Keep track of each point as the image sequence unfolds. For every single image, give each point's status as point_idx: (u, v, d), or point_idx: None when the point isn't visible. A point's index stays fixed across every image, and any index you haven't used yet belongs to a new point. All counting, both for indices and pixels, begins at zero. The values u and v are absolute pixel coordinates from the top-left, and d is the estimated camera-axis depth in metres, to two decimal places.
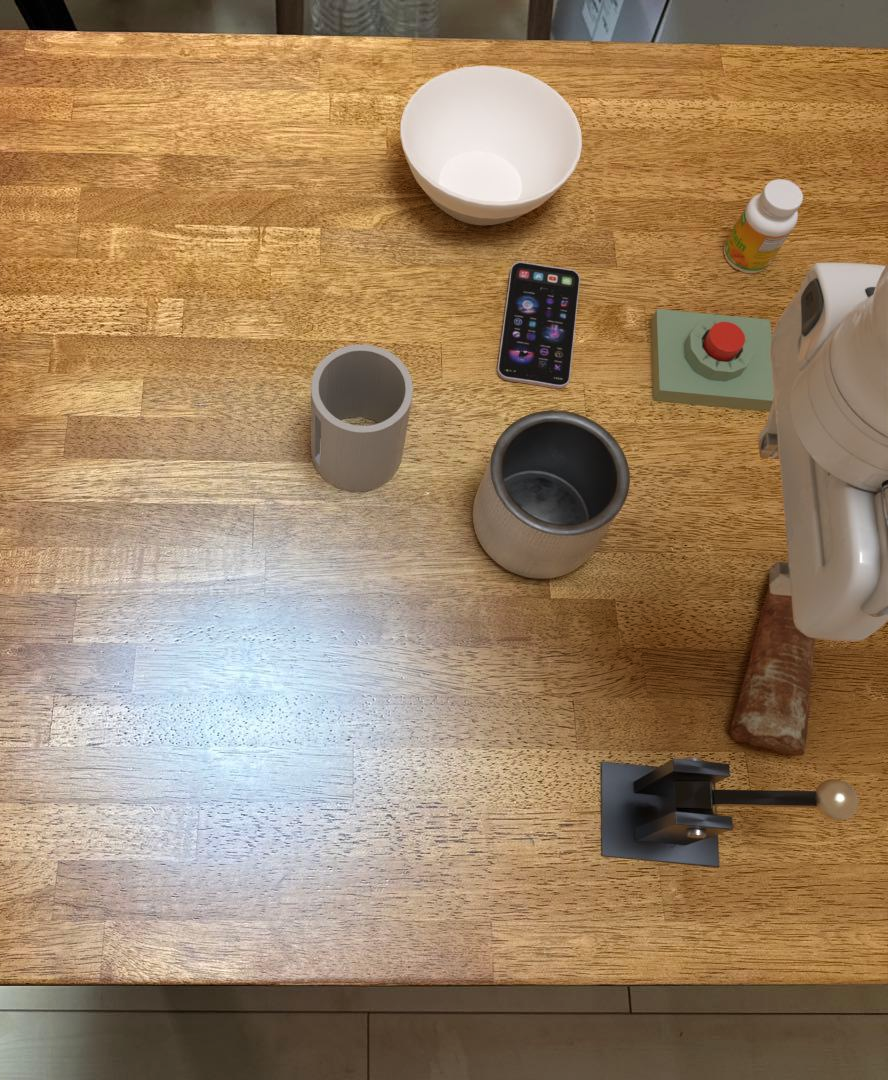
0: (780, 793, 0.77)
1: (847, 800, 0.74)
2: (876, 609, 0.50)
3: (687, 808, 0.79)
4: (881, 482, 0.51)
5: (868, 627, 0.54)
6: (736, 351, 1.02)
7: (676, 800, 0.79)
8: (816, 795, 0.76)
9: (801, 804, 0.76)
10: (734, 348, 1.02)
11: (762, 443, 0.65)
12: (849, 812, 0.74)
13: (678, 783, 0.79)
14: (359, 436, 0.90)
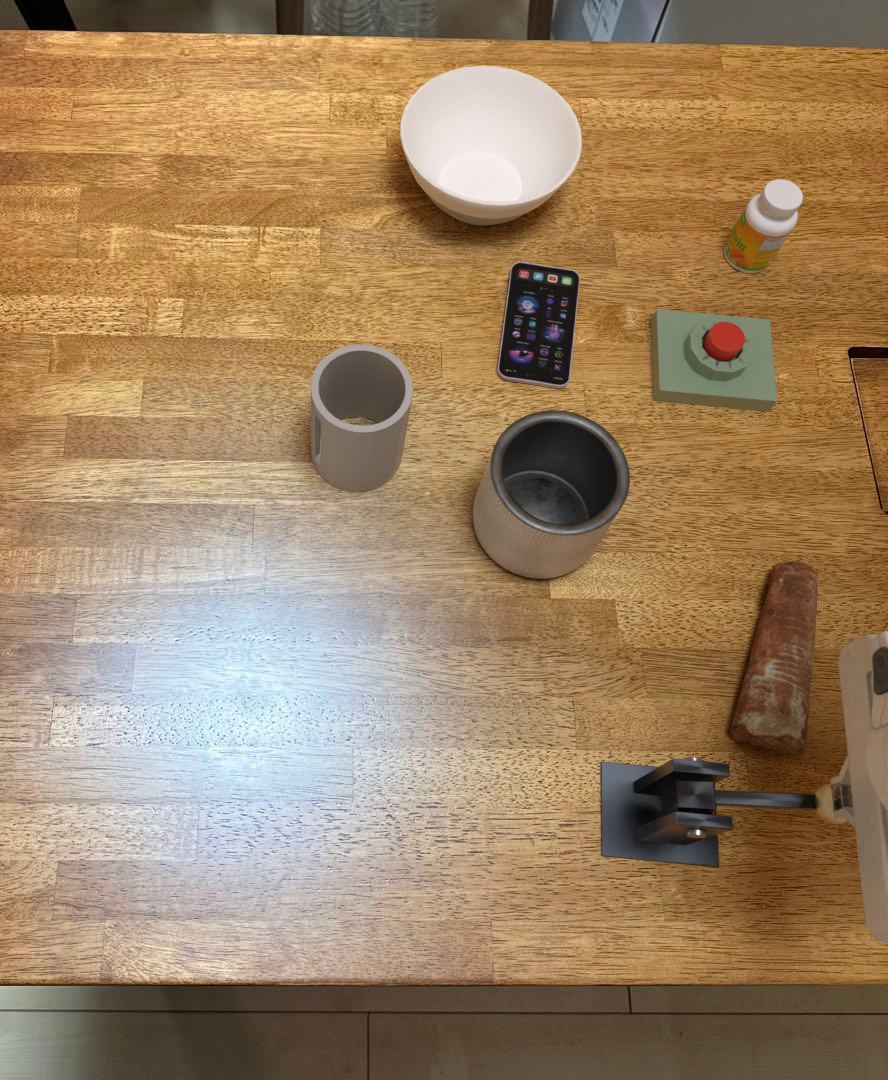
0: (781, 795, 0.78)
1: None
2: None
3: (689, 808, 0.78)
4: None
5: None
6: (736, 351, 1.02)
7: (678, 800, 0.79)
8: (816, 798, 0.77)
9: (801, 807, 0.77)
10: (734, 348, 1.02)
11: (835, 789, 0.75)
12: None
13: (680, 783, 0.79)
14: (359, 436, 0.90)
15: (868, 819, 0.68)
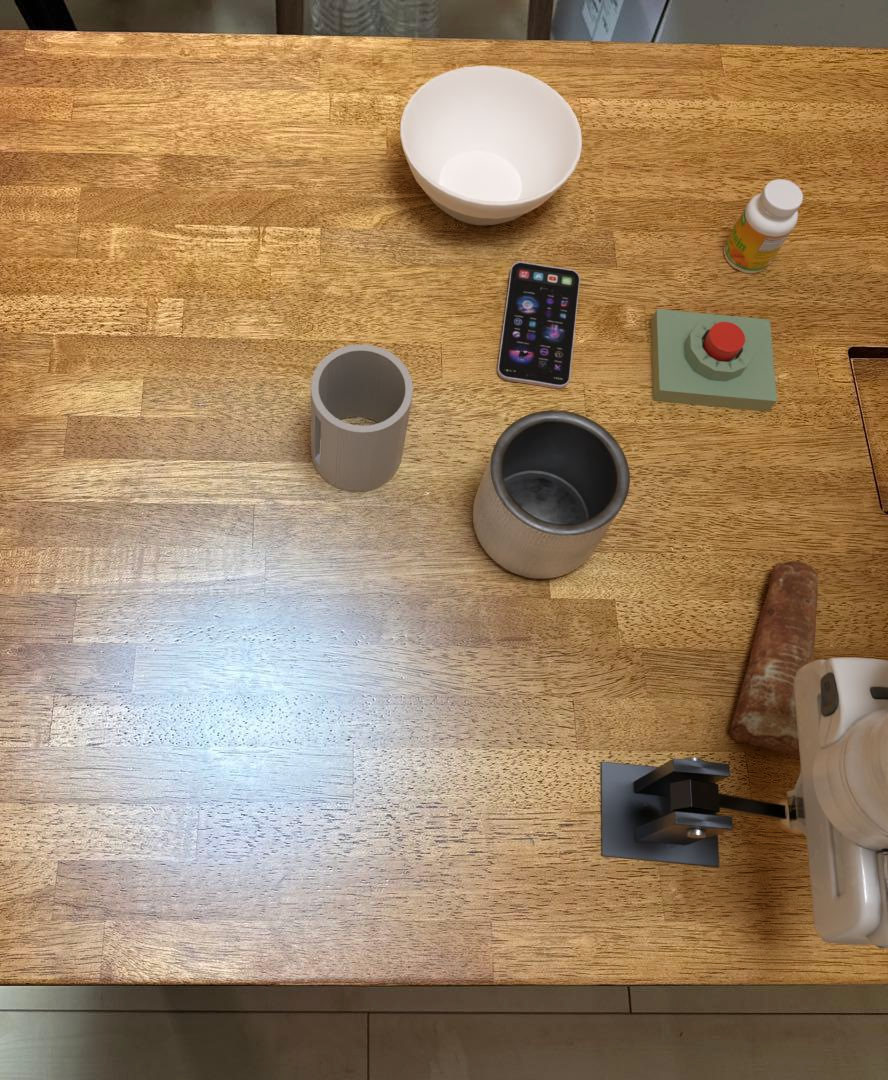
0: (762, 803, 0.81)
1: None
2: (878, 944, 0.67)
3: (699, 808, 0.78)
4: (882, 848, 0.68)
5: None
6: (736, 351, 1.02)
7: (692, 799, 0.78)
8: None
9: (776, 816, 0.82)
10: (734, 348, 1.02)
11: (791, 802, 0.81)
12: None
13: (693, 782, 0.79)
14: (359, 436, 0.90)
15: (817, 830, 0.74)
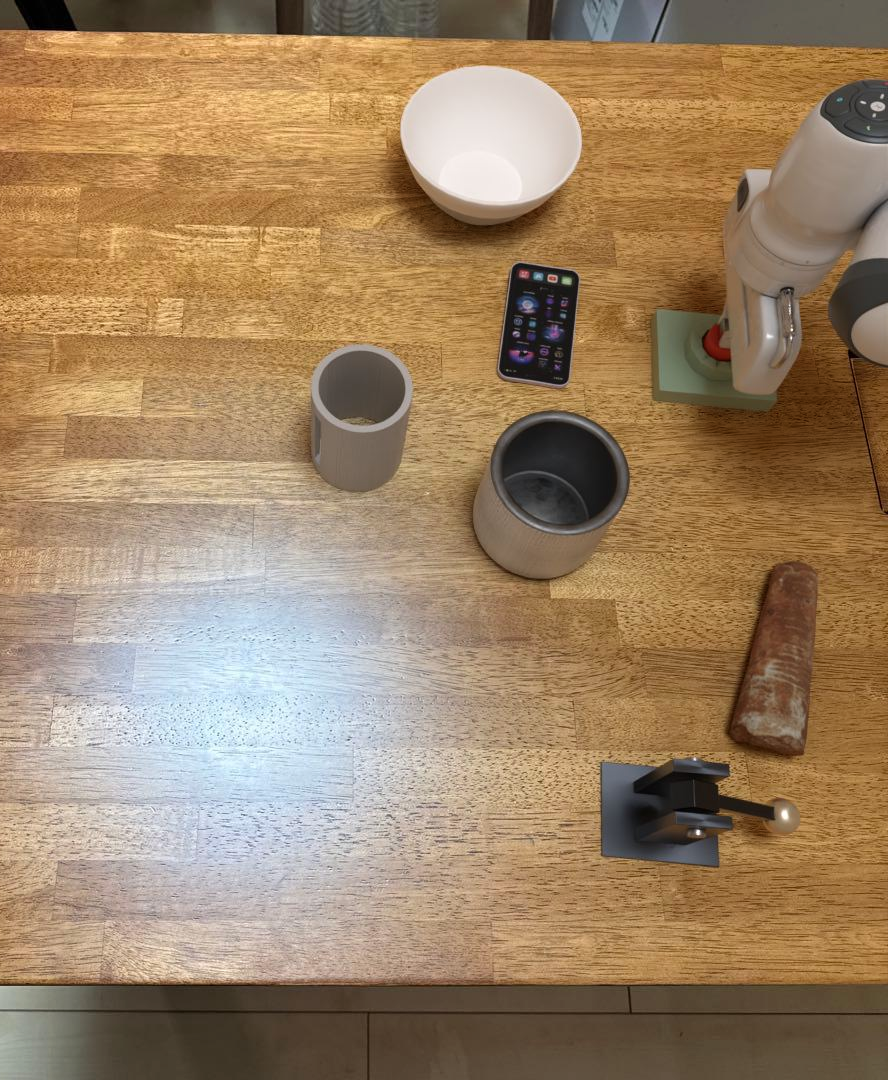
0: (754, 805, 0.82)
1: (800, 819, 0.83)
2: (776, 362, 0.88)
3: (701, 808, 0.78)
4: (779, 290, 0.88)
5: (774, 381, 0.91)
6: None
7: (695, 799, 0.78)
8: (777, 811, 0.83)
9: (766, 817, 0.82)
10: None
11: (720, 325, 1.02)
12: (795, 829, 0.83)
13: (696, 782, 0.79)
14: (359, 436, 0.90)
15: (736, 314, 0.95)
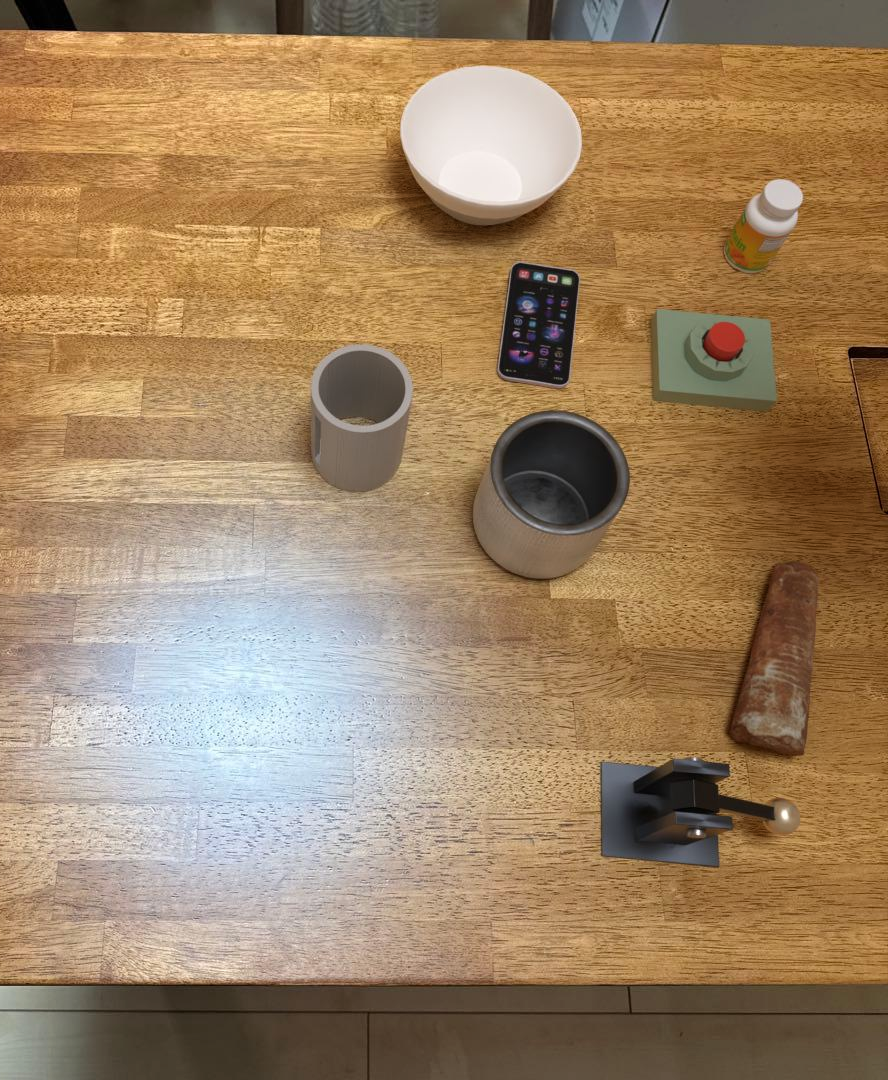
0: (754, 805, 0.82)
1: (800, 819, 0.83)
2: None
3: (701, 808, 0.78)
4: None
5: None
6: (736, 351, 1.02)
7: (695, 799, 0.78)
8: (777, 811, 0.83)
9: (766, 817, 0.82)
10: (734, 348, 1.02)
11: None
12: (795, 829, 0.83)
13: (696, 782, 0.79)
14: (359, 436, 0.90)
15: None
